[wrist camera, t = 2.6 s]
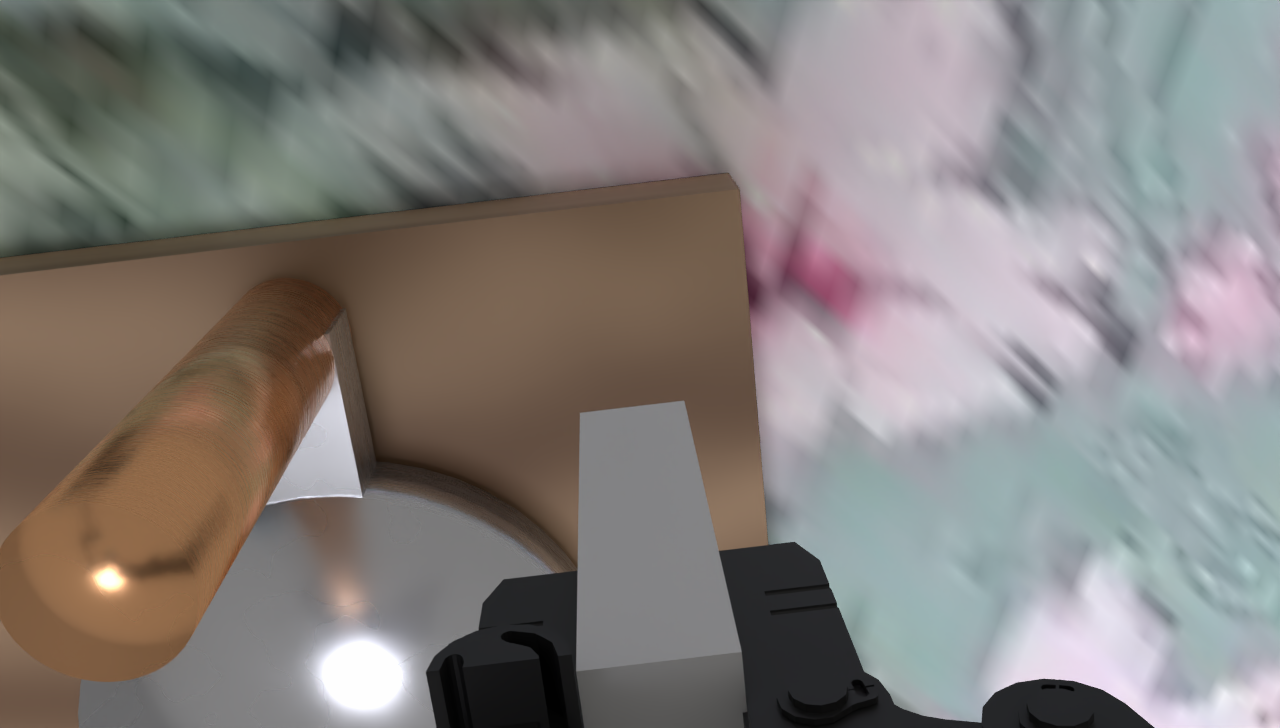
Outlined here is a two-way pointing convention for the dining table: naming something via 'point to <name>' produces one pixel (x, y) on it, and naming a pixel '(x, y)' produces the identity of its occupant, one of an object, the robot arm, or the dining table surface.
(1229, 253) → the dining table surface
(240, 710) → the cam disc
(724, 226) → the board
